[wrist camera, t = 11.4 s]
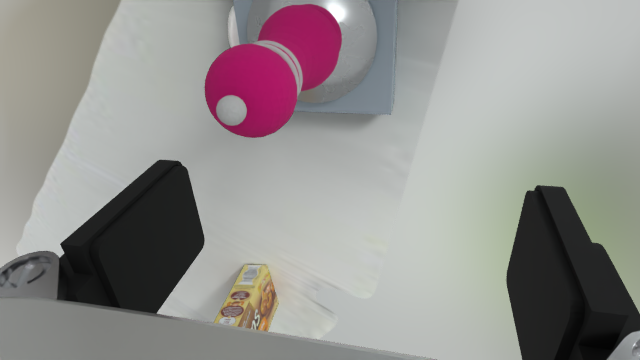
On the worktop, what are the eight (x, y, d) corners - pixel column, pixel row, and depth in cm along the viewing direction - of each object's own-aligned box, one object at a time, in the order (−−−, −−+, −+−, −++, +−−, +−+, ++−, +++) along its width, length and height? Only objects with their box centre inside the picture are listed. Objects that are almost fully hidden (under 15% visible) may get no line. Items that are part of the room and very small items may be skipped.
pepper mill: (337, 83, 42) (275, 185, 25) (270, 63, 42) (166, 151, 26) (355, 9, 38) (296, 73, 21) (281, -12, 38) (167, 35, 22)
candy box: (243, 263, 66) (199, 343, 54) (268, 263, 65) (228, 345, 52) (258, 302, 70) (219, 385, 58) (281, 303, 69) (247, 388, 57)
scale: (400, -62, 39) (396, -60, 34) (394, 98, 48) (389, 119, 43) (237, -53, 43) (212, -50, 38) (257, 95, 51) (238, 113, 46)
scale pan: (378, -40, 36) (377, -39, 36) (376, 102, 43) (375, 104, 42) (240, -33, 39) (237, -33, 38) (258, 98, 46) (256, 101, 45)
